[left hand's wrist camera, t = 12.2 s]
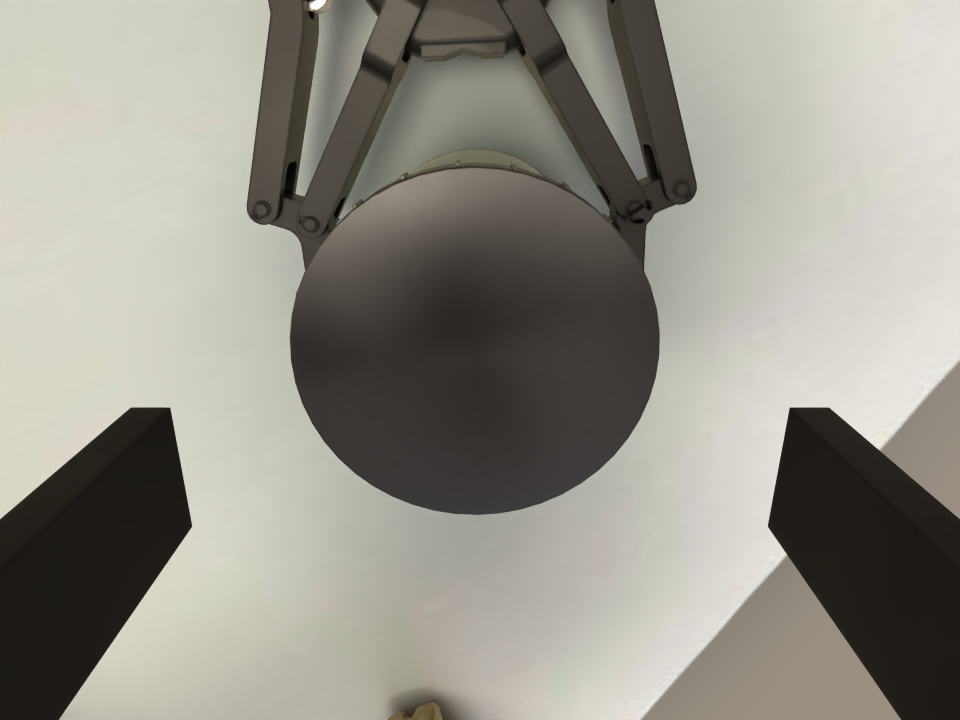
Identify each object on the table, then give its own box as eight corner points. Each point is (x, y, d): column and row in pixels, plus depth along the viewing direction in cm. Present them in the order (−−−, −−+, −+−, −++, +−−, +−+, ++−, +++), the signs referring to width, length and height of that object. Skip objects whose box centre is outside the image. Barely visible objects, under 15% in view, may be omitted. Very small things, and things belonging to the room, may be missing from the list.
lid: (231, 344, 21) (211, 362, 19) (472, 74, 18) (471, 70, 16) (477, 544, 24) (477, 574, 22) (719, 335, 21) (738, 353, 19)
